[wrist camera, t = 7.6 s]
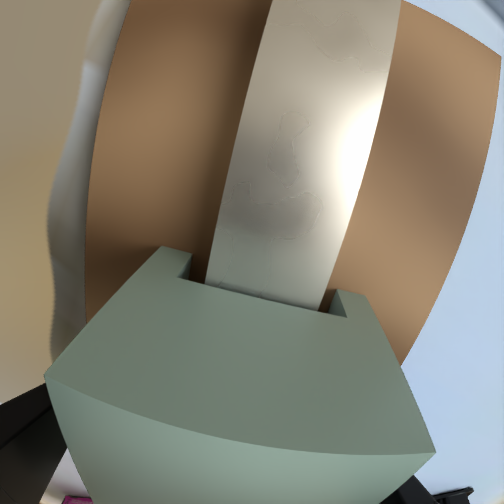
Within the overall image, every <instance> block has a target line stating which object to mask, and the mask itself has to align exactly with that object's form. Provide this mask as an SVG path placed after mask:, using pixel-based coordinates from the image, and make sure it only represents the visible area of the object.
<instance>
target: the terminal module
mask: <svg viewBox="0 0 504 504" xmlns="http://www.w3.org/2000/svg"><path fill="white" fill-rule="evenodd" d="M191 260H192V253H188V252H184V251H180V250H176V249H173V248H169V247H165V246H161V247H160V248H159V249H158V250H157V251H156V252H155V253H154V254H153V255H152V256H151V257H150V258H149V259H148V260H147V261H146V262H145V263H144V264H143V265H142V266H141V267H140V268H139V269H138V270H137V271H136V272H135V273H134V274H133V275H132V276H131V277H130V278H129V279H128V280H127V281H126V282H125V284H124V285H123V286H122V287H121V288H120V289H119V290H118V291H117V292H116V293H115V294H114V295H113V296H112V297H111V298H110V299H109V301H108V302H107V303H106V304H105V305H104V306H103V307H102V308H101V309H100V310H99V311H98V312H97V314H96V315H95V316H94V317H93V318H92V319H91V320H90V321H89V322H88V324H87V325H86V326H85V327H84V328H83V329H82V330H81V331H80V333H79V334H78V335H77V336H76V337H75V338H74V339H73V340H72V342H71V343H70V344H69V345H68V346H67V347H66V349H65V350H64V351H63V352H62V353H61V354H60V356H59V357H58V358H57V359H56V360H55V361H54V363H53V364H52V365H51V366H50V367H49V369H48V370H47V371H46V372H45V374H44V378H45V382H46V386H47V389H48V393H49V396H50V399H51V402H52V406H53V409H54V412H55V415H56V418H57V421H58V423H59V426H60V429H61V432H62V434H63V437H64V440H65V442H66V445H67V447H68V450H69V452H70V454H71V457H72V459H73V462H74V464H75V466H76V468H77V471H78V473H79V475H80V477H81V479H82V481H83V483H84V485H85V487H86V489H87V491H88V493H89V495H90V497H91V499H92V501H93V503H94V504H379V503H380V502H382V501H383V500H384V499H385V498H387V497H388V496H389V495H390V494H391V493H393V492H394V491H395V490H396V489H397V488H399V487H400V486H401V485H402V484H403V483H404V482H406V481H407V480H408V479H409V478H410V477H411V476H412V475H413V474H414V473H416V472H417V471H418V470H419V469H420V468H421V467H422V466H423V465H424V464H425V463H426V462H427V461H428V460H429V459H430V458H431V457H432V456H433V455H434V454H435V453H436V450H435V447H434V445H433V442H432V440H431V437H430V435H429V432H428V430H427V427H426V425H425V422H424V420H423V417H422V415H421V412H420V410H419V408H418V405H417V403H416V401H415V398H414V396H413V394H412V391H411V389H410V387H409V384H408V382H407V380H406V378H405V376H404V373H403V371H402V369H401V367H400V365H399V362H398V360H397V358H396V356H395V354H394V352H393V350H392V348H391V345H390V343H389V341H388V339H387V337H386V335H385V333H384V331H383V329H382V327H381V325H380V323H379V321H378V319H377V317H376V315H375V313H374V311H373V309H372V307H371V305H370V303H369V301H368V299H367V298H366V296H365V295H361V294H357V293H352V292H348V291H344V290H339V289H337V290H336V292H335V295H334V297H333V300H332V303H331V305H330V308H329V310H328V313H327V314H326V313H322V312H317V311H313V310H308V309H304V308H299V307H295V306H290V305H286V304H282V303H277V302H273V301H269V300H265V299H260V298H256V297H252V296H248V295H244V294H240V293H236V292H232V291H228V290H224V289H220V288H216V287H212V286H208V285H204V284H200V283H196V282H193V281H189V280H188V278H189V272H190V266H191Z"/></svg>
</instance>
